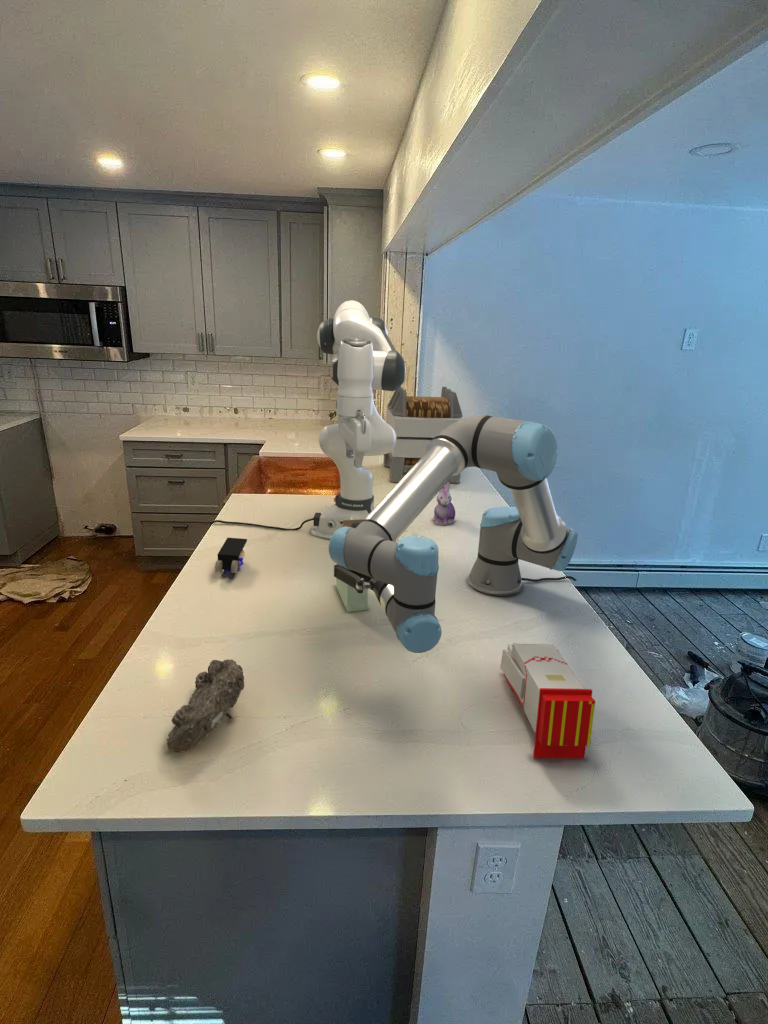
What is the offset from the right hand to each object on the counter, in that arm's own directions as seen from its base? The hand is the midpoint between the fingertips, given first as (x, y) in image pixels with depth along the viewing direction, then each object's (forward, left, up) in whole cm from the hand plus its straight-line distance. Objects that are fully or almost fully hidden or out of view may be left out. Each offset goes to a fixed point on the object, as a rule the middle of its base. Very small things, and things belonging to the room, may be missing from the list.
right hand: (370, 552), depth 131 cm
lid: (0, -15, -6) cm, 16 cm away
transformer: (-60, -134, -22) cm, 148 cm away
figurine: (-47, -70, -22) cm, 87 cm away
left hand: (0, -20, +16) cm, 26 cm away
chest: (0, -18, -22) cm, 28 cm away
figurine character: (+31, -42, -22) cm, 56 cm away
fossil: (+36, +22, -22) cm, 48 cm away
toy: (-27, +34, -22) cm, 48 cm away
